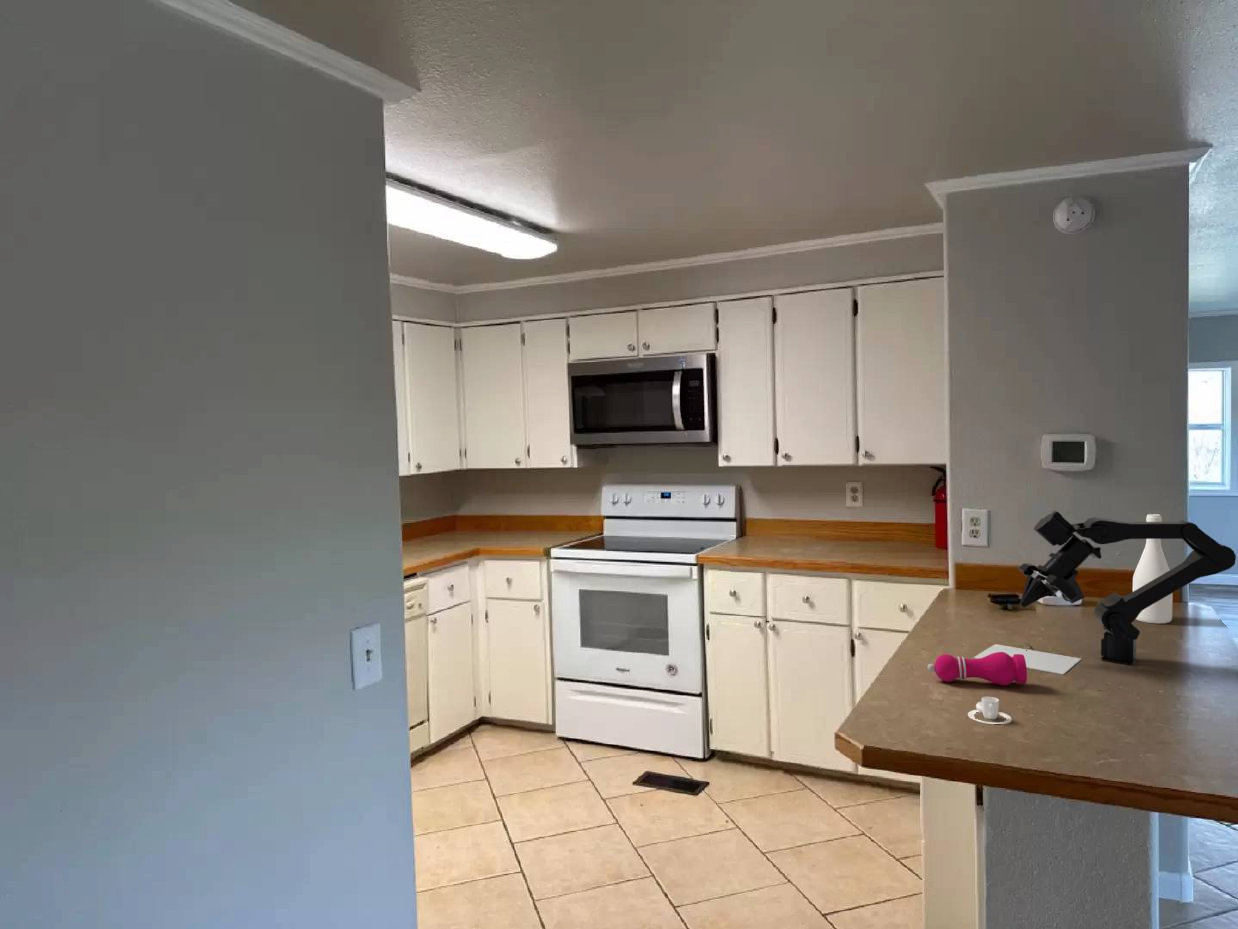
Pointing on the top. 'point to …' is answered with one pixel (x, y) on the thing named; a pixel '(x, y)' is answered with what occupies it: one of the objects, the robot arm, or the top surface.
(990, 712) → the teacup and saucer
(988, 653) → the rubber mat
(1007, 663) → the pepper mill
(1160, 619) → the wine bottle
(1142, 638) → the top surface
